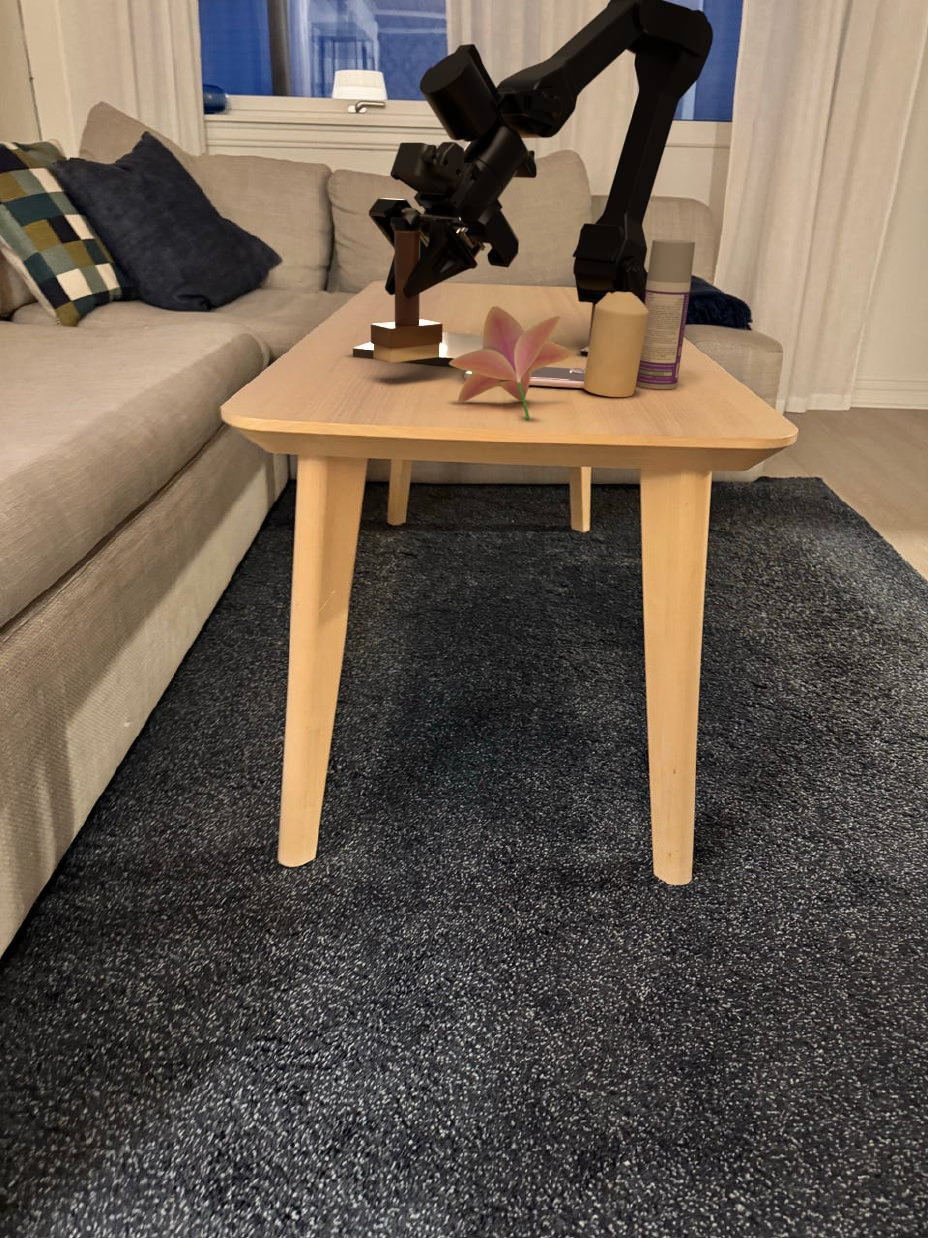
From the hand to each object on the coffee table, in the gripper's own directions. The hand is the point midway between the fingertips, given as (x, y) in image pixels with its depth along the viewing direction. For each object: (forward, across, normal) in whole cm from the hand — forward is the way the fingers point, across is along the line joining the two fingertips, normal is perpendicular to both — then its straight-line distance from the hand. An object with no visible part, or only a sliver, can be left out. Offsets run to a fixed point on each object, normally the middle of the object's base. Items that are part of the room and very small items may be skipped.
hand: (396, 293), depth 94 cm
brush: (+4, 0, +6) cm, 7 cm away
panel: (-5, -13, +18) cm, 23 cm away
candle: (-5, +16, +18) cm, 25 cm away
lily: (+5, +16, +8) cm, 18 cm away
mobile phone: (-3, +7, +16) cm, 18 cm away
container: (-10, +16, +24) cm, 31 cm away
